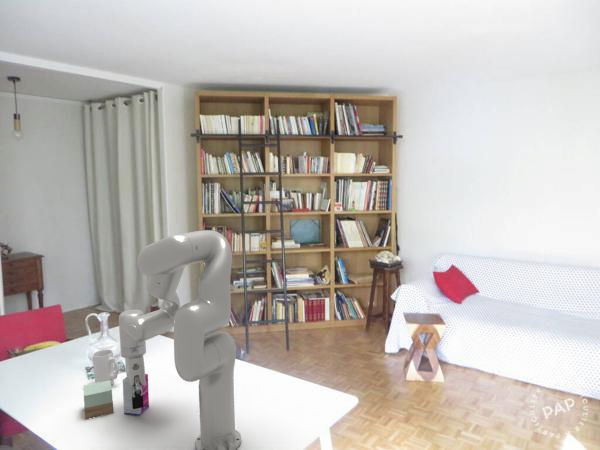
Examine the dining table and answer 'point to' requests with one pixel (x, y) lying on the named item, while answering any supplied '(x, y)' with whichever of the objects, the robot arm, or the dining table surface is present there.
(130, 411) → the supplement box
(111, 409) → the walnut base block
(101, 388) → the sage top block
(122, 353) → the robot arm
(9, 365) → the dining table surface
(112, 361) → the mug
